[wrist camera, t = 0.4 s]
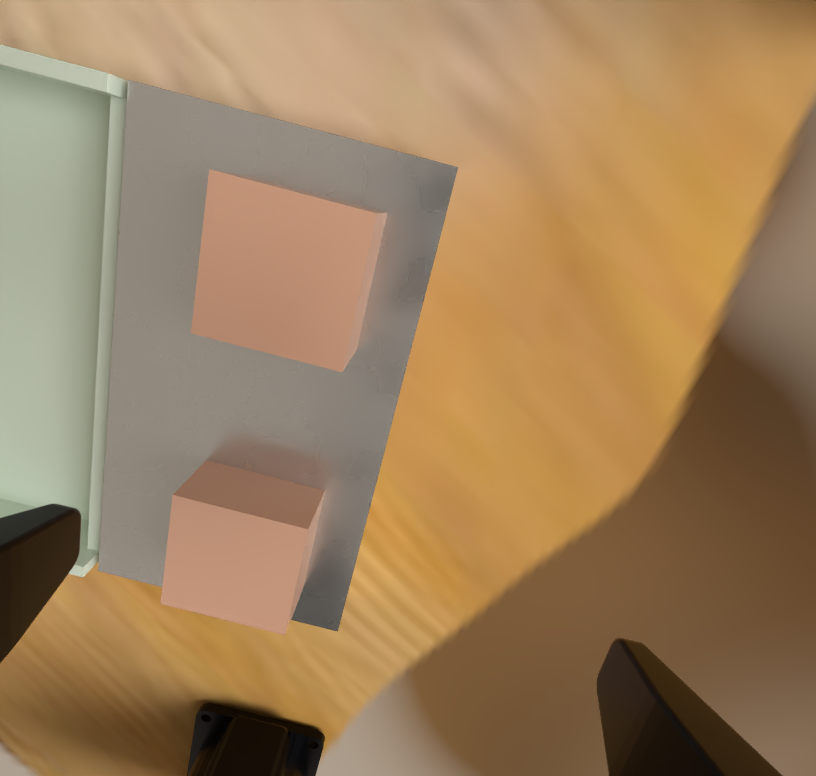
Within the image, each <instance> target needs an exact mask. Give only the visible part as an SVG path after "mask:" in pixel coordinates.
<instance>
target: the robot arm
mask: <svg viewBox="0 0 816 776" xmlns="http://www.w3.org/2000/svg"><path fill="white" fill-rule="evenodd" d="M80 534H81V514H80V511H79V510H78V509H76V508H73V507H69V506H64V505H60V504H48V505H45V506H41V507H37V508H34V509H30V510H27V511H23V512H19V513H16V514H12V515H9V516H5V517H2V518H0V663H1V661H2V660H3V659H4V658H5V657H6V656H7V654H8V653H9V652H10V651H11V650H12V648H13V647H14V646H15V645H16V643H17V642H18V641H19V639H20V638H21V637H22V636H23V634H24V633H25V632H26V630H27V629H28V628H29V626H30V625H31V623H32V622H33V621H34V619H35V618H36V617H37V615H38V614H39V613H40V611H41V610H42V609H43V607H44V606H45V605H46V603H47V602H48V600H49V599H50V598H51V596H52V595H53V594H54V592H55V591H56V590H57V588H58V587H59V586H60V584H61V583H62V582H63V580H64V579H65V577H66V576H67V575H68V573H69V572H70V571H71V569H72V568H73V566H74V565H75V563H76V561H77V559H78V556H79V551H80ZM597 696H598V702H599V710H600V716H601V724H602V730H603V738H604V744H605V752H606V759H607V766H608V772H609V776H782V775H781V774H780V773H779V772H778V771H777V770H776V769H775V768H774V767H773V766H772V765H771V764H770V763H769V762H768V761H767V760H766V759H764V758H763V757H762V756H761V755H760V754H759V753H758V752H757V751H756V750H755V749H754V748H753V747H752V746H750V744H749V743H747V742H746V741H745V740H744V739H743V738H742V737H741V736H740V735H739V734H738V733H737V732H736V731H735V730H734V729H733V728H732V727H731V726H730V725H728V724H727V723H726V722H725V721H724V720H723V719H722V718H721V717H720V716H719V715H718V714H717V713H716V712H715V711H714V710H713V709H712V708H711V707H710V706H708V705H707V704H706V703H705V702H704V701H703V700H702V699H701V698H700V697H699V696H698V695H697V694H696V693H695V692H694V691H693V690H691V688H689V687H688V686H687V685H686V684H685V683H684V682H683V681H682V680H681V679H680V678H679V677H678V676H677V675H676V674H675V673H674V672H673V671H671V670H670V669H669V668H668V667H667V666H666V665H665V664H664V663H663V662H662V661H661V660H660V659H659V658H658V657H657V656H656V655H654V654H653V653H652V652H651V651H650V650H649V649H648V648H647V647H646V646H645V645H644V644H642V643H641V642H637V641H633V640H629V639H625V638H617V639H615V640H614V641H613V643H612V644H611V646H610V649H609V651H608V653H607V655H606V658H605V660H604V662H603V664H602V667H601V669H600V671H599V674H598V678H597ZM324 741H325V736H324V735H323V734H322V733H321V732H319V731H317V730H313V729H309V728H305V727H301V726H297V725H293V724H289V723H285V722H281V721H277V720H273V719H269V718H265V717H261V716H257V715H253V714H249V713H245V712H241V711H237V710H233V709H229V708H225V707H221V706H217V705H213V704H203V705H202V706H201V707H200V709H199V711H198V713H197V715H196V721H195V728H194V734H193V741H192V747H191V754H190V760H189V767H188V773H187V776H315V775H316V771H317V768H318V764H319V761H320V757H321V753H322V750H323V746H324Z"/></svg>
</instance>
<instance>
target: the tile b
mask: <svg viewBox="0 0 816 776" xmlns="http://www.w3.org/2000/svg"><path fill="white" fill-rule="evenodd" d="M386 216H387V213H386V212H382V211H379V210H375V209H371V208H367V207H363V206H360V205H356V204H352V203H348V202H344V201H341V200H337V199H333V198H329V197H325V196H322V195H318V194H314V193H310V192H307V191H303V190H299V189H295V188H291V187H288V186H284V185H280V184H276V183H272V182H269V181H265V180H261V179H257V178H253V177H250V176H246V175H241V174H235V173H229V172H223V171H217V170H211V169H209V176H208V185H207V194H206V203H205V212H204V221H203V230H202V238H201V247H200V256H199V265H198V274H197V283H196V292H195V301H194V310H193V319H192V327H191V333H192V334H196V335H200V336H204V337H208V338H211V339H215V340H219V341H223V342H227V343H231V344H235V345H238V346H242V347H246V348H250V349H254V350H258V351H262V352H265V353H269V354H273V355H277V356H281V357H285V358H288V359H292V360H296V361H300V362H304V363H308V364H312V365H315V366H319V367H323V368H327V369H331V370H335V371H339V372H343V371H344V369H345V367H346V366H347V364H348V363H349V361H350V360H351V358H352V357H353V355H354V353H355V352H356V350H357V346H358V341H359V337H360V332H361V328H362V323H363V319H364V314H365V310H366V305H367V301H368V296H369V292H370V287H371V283H372V278H373V274H374V269H375V265H376V261H377V256H378V252H379V247H380V243H381V238H382V234H383V229H384V225H385V220H386Z"/></svg>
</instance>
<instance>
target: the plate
mask: <svg viewBox="0 0 816 776" xmlns="http://www.w3.org/2000/svg"><path fill="white" fill-rule="evenodd" d="M209 169H211V170H217V171H223V172H229V173H235V174H241V175H246V176H250V177H253V178H257V179H261V180H265V181H269V182H272V183H276V184H280V185H284V186H288V187H291V188H295V189H299V190H303V191H307V192H310V193H314V194H318V195H322V196H325V197H329V198H333V199H337V200H341V201H344V202H348V203H352V204H356V205H360V206H363V207H367V208H371V209H375V210H379V211H382V212H386V213H387V216H386V220H385V225H384V229H383V234H382V238H381V243H380V247H379V252H378V256H377V261H376V265H375V269H374V274H373V278H372V283H371V287H370V292H369V296H368V301H367V305H366V310H365V314H364V319H363V323H362V328H361V332H360V337H359V341H358V346H357V350H356V352H355V353H354V355H353V357H352V358H351V360H350V361H349V363H348V364H347V366H346V367H345V369H344V371H343V372H339V371H335V370H331V369H327V368H323V367H319V366H315V365H312V364H308V363H304V362H300V361H296V360H292V359H288V358H285V357H281V356H277V355H273V354H269V353H265V352H262V351H258V350H254V349H250V348H246V347H242V346H238V345H235V344H231V343H227V342H223V341H219V340H215V339H211V338H208V337H204V336H200V335H196V334H192V333H191V327H192V319H193V310H194V301H195V292H196V283H197V274H198V265H199V256H200V247H201V238H202V230H203V221H204V212H205V203H206V194H207V185H208V176H209ZM457 169H458V167H455V166H451V165H447V164H443V163H440V162H436V161H432V160H428V159H425V158H421V157H417V156H413V155H410V154H406V153H402V152H398V151H395V150H391V149H387V148H383V147H379V146H376V145H372V144H368V143H364V142H361V141H357V140H353V139H349V138H346V137H342V136H338V135H334V134H330V133H327V132H323V131H319V130H315V129H312V128H308V127H304V126H300V125H297V124H293V123H289V122H285V121H282V120H278V119H274V118H270V117H266V116H263V115H259V114H255V113H251V112H248V111H244V110H240V109H236V108H233V107H229V106H225V105H221V104H217V103H214V102H210V101H206V100H202V99H199V98H195V97H191V96H187V95H184V94H180V93H176V92H172V91H169V90H165V89H161V88H157V87H153V86H150V85H146V84H142V83H138V82H135V81H131V80H128V91H127V107H126V123H125V140H124V156H123V173H122V189H121V205H120V222H119V238H118V255H117V271H116V287H115V304H114V320H113V337H112V353H111V369H110V386H109V402H108V419H107V435H106V451H105V468H104V484H103V501H102V517H101V533H100V550H99V566H98V571H101V572H105V573H108V574H112V575H116V576H120V577H124V578H128V579H132V580H136V581H140V582H144V583H148V584H152V585H156V586H160V587H162V586H163V577H164V568H165V559H166V550H167V541H168V532H169V523H170V514H171V506H172V497H173V494H174V493H175V492H176V491H177V490H178V489H179V488H180V487H181V486H182V485H183V484H184V483H185V482H186V480H187V479H188V478H189V477H190V476H191V475H192V474H193V473H194V472H195V471H196V470H197V469H198V468H199V467H200V466H201V465H202V464H203V463H204V462H205V461H206V460H208V461H212V462H216V463H220V464H224V465H228V466H232V467H236V468H240V469H243V470H247V471H251V472H255V473H259V474H263V475H267V476H271V477H275V478H279V479H282V480H286V481H290V482H294V483H298V484H302V485H306V486H310V487H314V488H318V489H321V490H325V493H324V498H323V502H322V507H321V511H320V516H319V520H318V524H317V529H316V533H315V538H314V542H313V547H312V551H311V556H310V560H309V565H308V569H307V574H306V578H305V583H304V587H303V590H302V592H301V595H300V598H299V600H298V603H297V605H296V608H295V611H294V613H293V616H292V619H291V620H294V621H298V622H302V623H306V624H310V625H314V626H318V627H322V628H326V629H330V630H334V631H338V628H339V624H340V620H341V617H342V613H343V609H344V605H345V601H346V597H347V593H348V590H349V586H350V582H351V578H352V574H353V570H354V566H355V563H356V559H357V555H358V551H359V547H360V543H361V540H362V536H363V532H364V528H365V524H366V520H367V516H368V513H369V509H370V505H371V501H372V497H373V493H374V489H375V486H376V482H377V478H378V474H379V470H380V466H381V462H382V459H383V455H384V451H385V447H386V443H387V439H388V435H389V432H390V428H391V424H392V420H393V416H394V412H395V408H396V405H397V401H398V397H399V393H400V389H401V385H402V381H403V378H404V374H405V370H406V366H407V362H408V358H409V355H410V351H411V347H412V343H413V339H414V335H415V331H416V328H417V324H418V320H419V316H420V312H421V308H422V304H423V301H424V297H425V293H426V289H427V285H428V281H429V277H430V274H431V270H432V266H433V262H434V258H435V254H436V250H437V247H438V243H439V239H440V235H441V231H442V227H443V223H444V220H445V216H446V212H447V208H448V204H449V200H450V196H451V193H452V189H453V185H454V181H455V177H456V173H457Z"/></svg>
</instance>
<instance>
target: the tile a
mask: <svg viewBox="0 0 816 776" xmlns="http://www.w3.org/2000/svg"><path fill="white" fill-rule="evenodd" d="M324 493H325V490H321V489H318V488H314V487H310V486H306V485H302V484H298V483H294V482H290V481H286V480H282V479H279V478H275V477H271V476H267V475H263V474H259V473H255V472H251V471H247V470H243V469H240V468H236V467H232V466H228V465H224V464H220V463H216V462H212V461H208V460H206V461H205V462H204V463H203V464H202V465H201V466H200V467H199V468H198V469H197V470H196V471H195V472H194V473H193V474H192V475H191V476H190V477H189V478H188V479H187V480H186V482H185V483H184V484H183V485H182V486H181V487H180V488H179V489H178V490H177V491H176V492H175V493H174V494H173V497H172V506H171V514H170V523H169V532H168V541H167V550H166V559H165V568H164V577H163V586H162V595H161V604H164V605H168V606H172V607H176V608H180V609H184V610H188V611H192V612H196V613H200V614H204V615H208V616H212V617H215V618H219V619H223V620H227V621H231V622H235V623H239V624H243V625H247V626H251V627H255V628H259V629H263V630H267V631H271V632H275V633H279V634H283V635H285V634H286V632H287V629H288V626H289V624H290V621H291V619H292V616H293V613H294V611H295V608H296V605H297V603H298V600H299V598H300V595H301V592H302V590H303V587H304V583H305V578H306V574H307V569H308V565H309V560H310V556H311V551H312V547H313V542H314V538H315V533H316V529H317V524H318V520H319V516H320V511H321V507H322V502H323V498H324Z"/></svg>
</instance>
